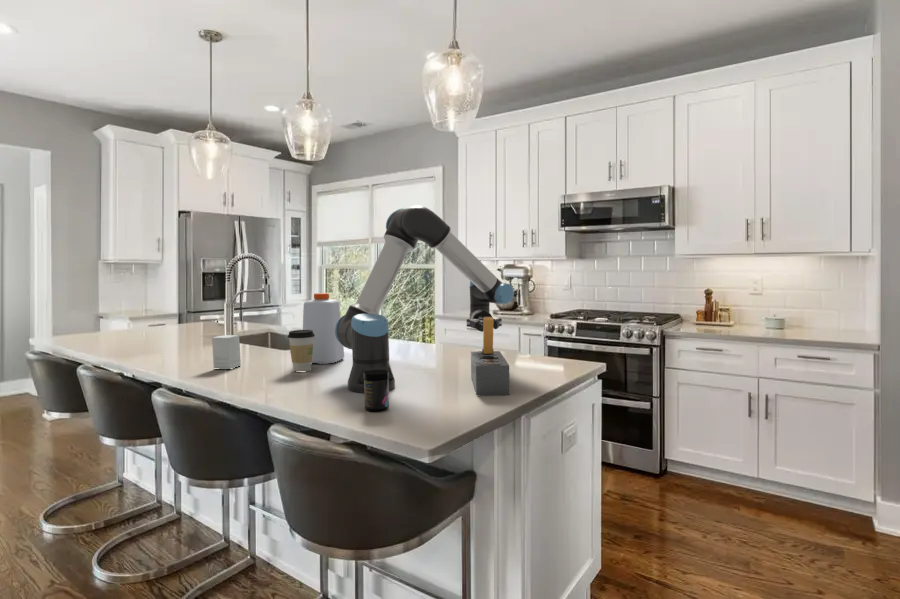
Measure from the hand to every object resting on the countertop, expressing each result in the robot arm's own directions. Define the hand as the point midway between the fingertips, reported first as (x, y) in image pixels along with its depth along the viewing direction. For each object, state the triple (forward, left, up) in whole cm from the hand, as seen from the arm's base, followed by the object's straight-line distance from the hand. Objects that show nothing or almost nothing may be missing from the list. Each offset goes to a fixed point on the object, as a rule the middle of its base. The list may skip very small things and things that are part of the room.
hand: (488, 328), depth 178 cm
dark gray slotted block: (+2, +4, -18) cm, 19 cm away
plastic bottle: (-33, +72, -19) cm, 81 cm away
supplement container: (-44, -8, -19) cm, 48 cm away
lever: (0, +1, -8) cm, 8 cm away
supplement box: (-69, +79, -19) cm, 106 cm away
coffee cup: (-46, +57, -19) cm, 75 cm away
